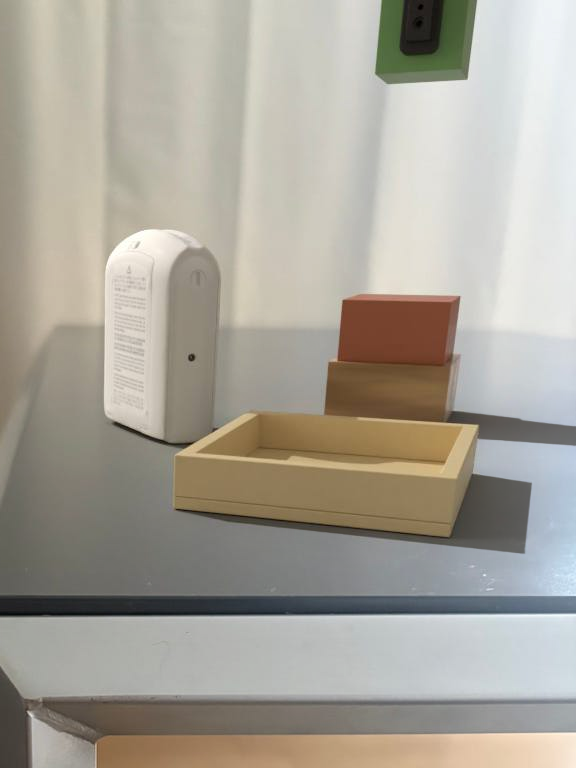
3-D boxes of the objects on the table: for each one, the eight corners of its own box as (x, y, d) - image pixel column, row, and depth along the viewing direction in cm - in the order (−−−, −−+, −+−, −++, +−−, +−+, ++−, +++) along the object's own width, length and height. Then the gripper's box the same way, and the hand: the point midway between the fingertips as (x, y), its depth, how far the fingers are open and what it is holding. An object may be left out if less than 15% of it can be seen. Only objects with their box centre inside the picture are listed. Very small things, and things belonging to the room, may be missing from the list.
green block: (387, 84, 65) (396, -15, 63) (467, 79, 63) (480, -22, 61) (374, 74, 61) (384, -33, 59) (460, 69, 59) (473, -41, 57)
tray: (248, 454, 59) (250, 409, 58) (472, 472, 54) (479, 424, 53) (172, 508, 47) (174, 454, 46) (449, 538, 43) (457, 478, 42)
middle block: (354, 350, 74) (359, 293, 73) (453, 354, 72) (460, 295, 70) (336, 361, 68) (342, 299, 67) (443, 365, 66) (451, 301, 64)
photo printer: (223, 441, 63) (233, 228, 58) (162, 446, 61) (167, 228, 56) (150, 415, 71) (154, 229, 67) (96, 420, 70) (95, 229, 65)
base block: (344, 403, 76) (349, 349, 75) (453, 409, 73) (461, 354, 72) (323, 420, 69) (328, 361, 68) (442, 428, 67) (450, 366, 65)
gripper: (530, -371, 48) (479, 38, 54) (537, -249, 60) (495, 73, 66) (371, -337, 51) (340, 47, 57) (408, -227, 63) (380, 80, 69)
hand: (424, 59), depth 62 cm, fingers closed on green block, 5 cm apart
